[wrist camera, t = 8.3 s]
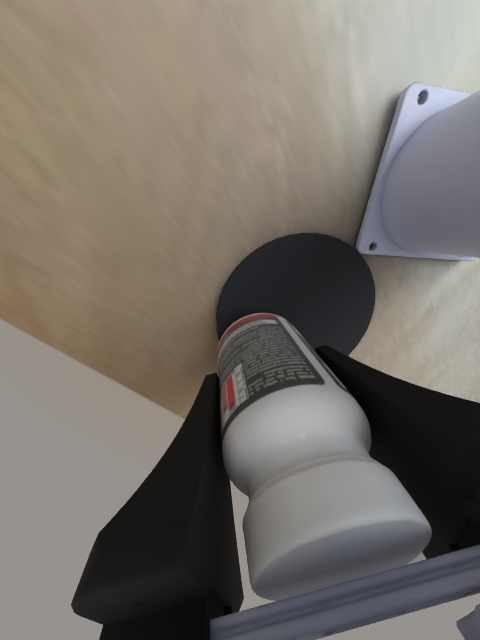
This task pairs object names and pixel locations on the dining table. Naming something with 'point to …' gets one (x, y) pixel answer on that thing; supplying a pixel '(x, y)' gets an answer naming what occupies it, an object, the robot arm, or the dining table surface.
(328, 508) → the pill bottle
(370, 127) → the dining table surface
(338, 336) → the mat
